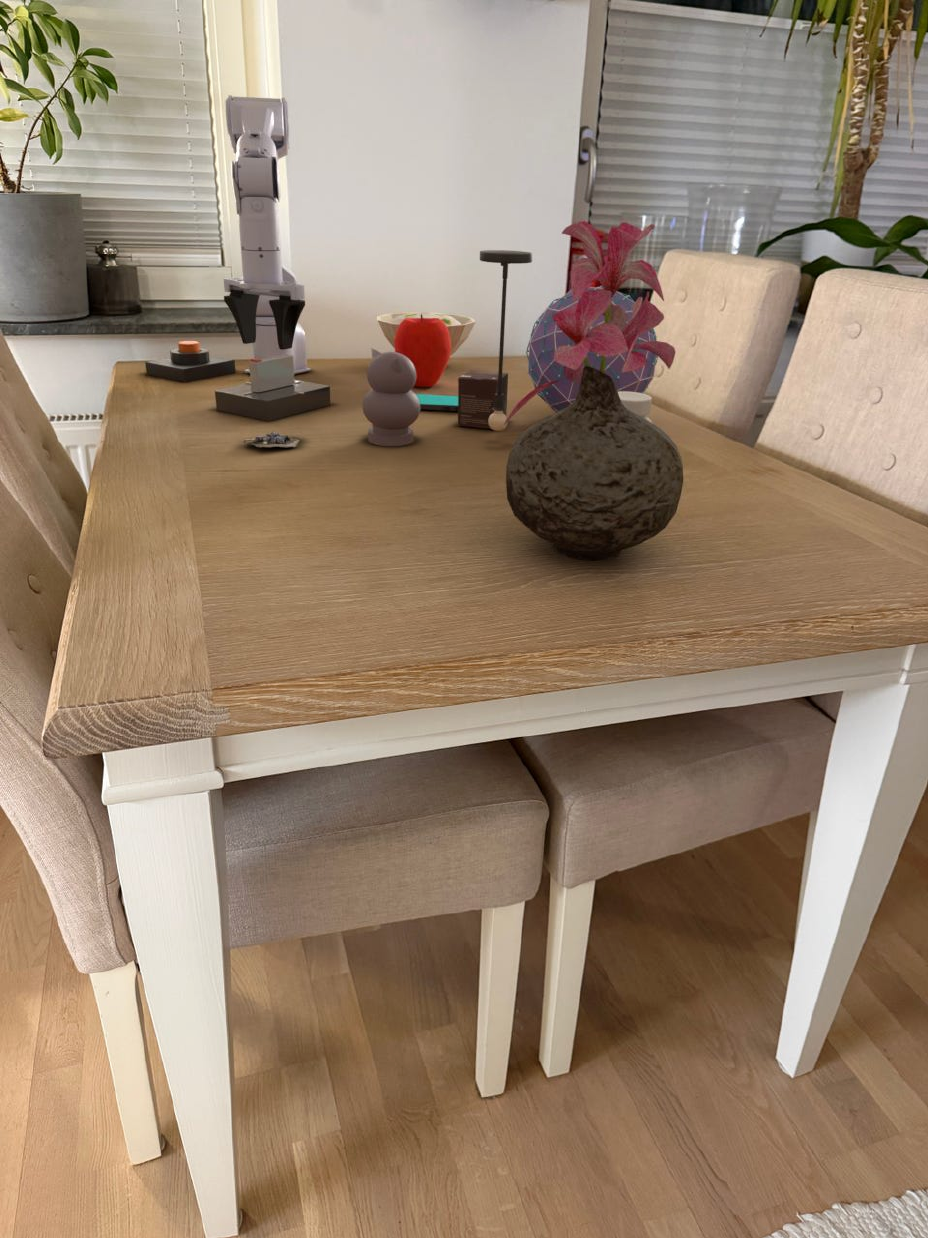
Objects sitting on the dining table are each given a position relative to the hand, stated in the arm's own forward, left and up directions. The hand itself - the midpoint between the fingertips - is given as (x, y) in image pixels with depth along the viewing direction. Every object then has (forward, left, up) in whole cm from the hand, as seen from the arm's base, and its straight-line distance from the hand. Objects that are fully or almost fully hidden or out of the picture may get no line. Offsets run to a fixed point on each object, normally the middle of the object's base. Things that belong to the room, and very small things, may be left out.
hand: (267, 345), depth 136 cm
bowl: (-44, -2, -10) cm, 45 cm away
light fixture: (-3, +39, -10) cm, 41 cm away
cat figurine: (+4, +26, -10) cm, 28 cm away
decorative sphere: (-25, +42, -10) cm, 50 cm away
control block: (-10, -30, -9) cm, 33 cm away
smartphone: (-18, +20, -9) cm, 29 cm away
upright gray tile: (0, 0, -6) cm, 6 cm away
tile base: (0, 0, -9) cm, 9 cm away
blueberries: (+16, +15, -10) cm, 24 cm away
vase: (+25, +66, -10) cm, 72 cm away
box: (-12, +31, -10) cm, 35 cm away
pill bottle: (+5, +61, -10) cm, 62 cm away
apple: (-29, +8, -10) cm, 32 cm away
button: (-10, -30, -6) cm, 32 cm away
